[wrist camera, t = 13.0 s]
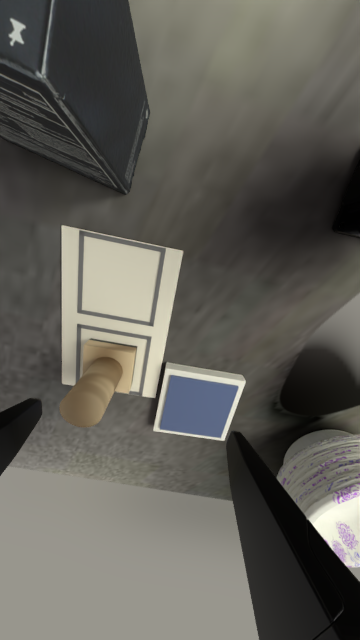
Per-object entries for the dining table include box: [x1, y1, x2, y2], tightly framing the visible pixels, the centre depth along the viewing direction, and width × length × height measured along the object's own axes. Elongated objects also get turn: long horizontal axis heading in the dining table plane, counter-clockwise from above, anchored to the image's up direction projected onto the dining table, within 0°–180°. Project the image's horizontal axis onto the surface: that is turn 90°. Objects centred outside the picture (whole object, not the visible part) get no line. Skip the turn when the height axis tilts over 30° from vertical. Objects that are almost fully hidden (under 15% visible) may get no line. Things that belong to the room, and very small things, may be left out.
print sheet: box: [62, 225, 183, 398], centre depth 19 cm, size 11×17×1 cm, turn 169°
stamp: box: [60, 338, 137, 427], centre depth 17 cm, size 5×5×7 cm
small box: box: [0, 0, 150, 194], centre depth 9 cm, size 11×6×10 cm, turn 68°
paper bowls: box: [276, 429, 360, 567], centre depth 22 cm, size 15×15×8 cm
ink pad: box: [153, 362, 246, 441], centre depth 22 cm, size 9×9×2 cm
